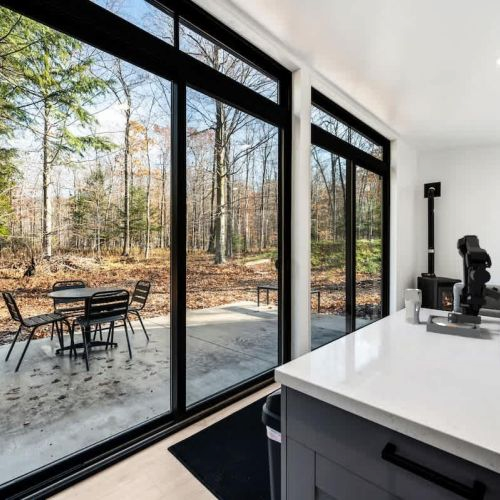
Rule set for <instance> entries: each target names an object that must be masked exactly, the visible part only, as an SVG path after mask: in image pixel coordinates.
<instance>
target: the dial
mask: <svg viewBox="0 0 500 500" xmlns="http://www.w3.org/2000/svg"><path fill="white" fill-rule="evenodd" d="M447 317H448V318H443V317H440V318H433V319H432V324H439V325H447V326H449V325H451V326H456V327H462V328H470V329H475V324H479V325H482V316H481V315H478V316H474V315H465V314H461V313H456V312H447Z"/></svg>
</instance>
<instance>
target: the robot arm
mask: <svg viewBox="0 0 500 500" xmlns="http://www.w3.org/2000/svg"><path fill="white" fill-rule="evenodd" d="M456 249H457V251H458V254H459V255H460V257H461V258H462V273H463V274H462V275H463V278H462V279H463V287H462V288H461V290H460V291H459V294H458V298H457V307H458V308H461V309H460V310H461V313H460V314H465V315H474V316H479V313H480V311H481V310H482V307H483V306H487V298H486V297H489V298H491V299H494V300H495V301H499V302H500V291H499V288H497V286H496V287H495V286H493V287H487V283H489V282H490V280H491V279H492V278H491V277H492V275H491V273H490V272H489V271H488V270H487V269H491V267H492V265H493V263H492V258H491V256H490V254H489V253H488V252H487V250H486V249H485V248H482V247H481V245H480V238H479V237H478V235H476V234H465V235H463V237H461V238H459V239H457V242H456Z"/></svg>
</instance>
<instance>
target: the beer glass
mask: <svg viewBox="0 0 500 500" xmlns="http://www.w3.org/2000/svg"><path fill="white" fill-rule="evenodd" d="M403 298H404V307H405V315H406V316H405V323H407V324H412V325H420V324H421V321H420V312H421V306H422V299H423V298H422V290H421V289H418V288H404V297H403Z"/></svg>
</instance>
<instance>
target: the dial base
mask: <svg viewBox="0 0 500 500" xmlns="http://www.w3.org/2000/svg"><path fill="white" fill-rule="evenodd" d="M440 317H443V318H448V316H443V315H435V314H434V315H433V314H429V315H428V318H427V321H426V325H425V326H426V332H427V333H435V334H443V335H450V336H457V337H464V338H472V339H477V340H478V339H479V340H481V332H482V331H481V327H480V324H475V329H470V328H462V327H456V326H451V325H449V326H447V325H439V324H432V319H433V318H440Z"/></svg>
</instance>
